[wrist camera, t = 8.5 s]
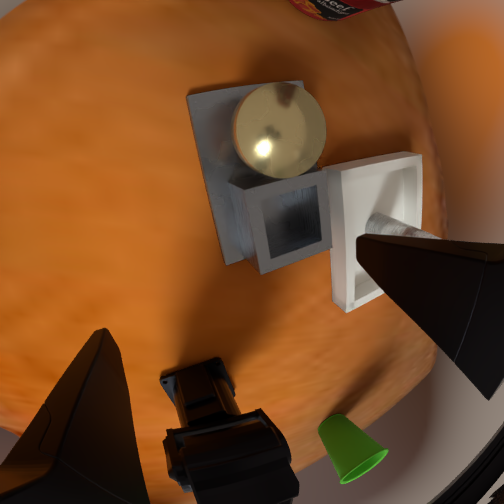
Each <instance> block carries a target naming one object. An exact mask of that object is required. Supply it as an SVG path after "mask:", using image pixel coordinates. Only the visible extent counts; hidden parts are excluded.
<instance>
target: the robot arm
mask: <svg viewBox="0 0 504 504" xmlns="http://www.w3.org/2000/svg"><path fill="white" fill-rule="evenodd" d="M356 259H357V262H358V263H359V264H360V266H361V267H362V268H363V269H364V270H365V271H366V272H367V274H368V275H369V276H370V277H371V278H372V279H373V280H374V282H375V283H376V284H377V285H378V286H379V287H380V288H381V289H382V290H383V291H384V292H385V293H386V294H387V295H388V296H389V297H390V298H391V299H392V300H393V301H394V302H395V303H396V304H397V305H398V306H399V307H400V308H401V309H402V310H403V311H404V312H405V313H406V314H407V315H408V316H409V317H410V318H411V319H412V320H413V321H414V322H415V323H416V324H417V325H418V326H419V327H420V328H421V329H422V330H423V331H424V332H425V333H426V334H427V335H428V336H429V337H430V338H431V339H432V340H433V341H434V342H435V343H436V344H437V345H438V346H439V347H440V348H441V349H442V350H443V351H444V352H445V354H447V356H448V357H449V358H450V359H451V360H452V361H453V362H454V363H455V364H456V366H457V367H458V368H459V369H460V370H461V371H462V372H463V373H464V374H465V375H466V377H467V378H468V379H469V380H470V381H471V382H472V383H473V384H474V386H475V387H476V388H477V389H478V390H479V391H480V392H481V394H482V395H483V396H484V397H485V398H486V399H487V400H488V401H489V400H490V399H491V398H492V397H493V395H494V394H495V392H496V391H497V390H498V389H499V387H500V386H501V385H502V383H503V382H504V244H497V243H478V242H465V241H454V240H451V241H449V240H442V239H431V238H420V237H408V236H395V235H382V234H369V233H365V234H362V235H360V236H358V237H357V238H356ZM217 362H218V363H217ZM159 380H160V384H161V386H162V387H163V389H164V390H165V392H166V393H167V395H168V396H169V398H170V399H171V401H172V402H173V404H174V405H175V407H176V410H177V413H178V417H179V421H180V424H181V428H177V429H172V428H171V429H166V432H167V436H166V439H164V440H163V446H164V450H165V454H166V461H167V469H168V474H169V477H170V478H171V479H173V480H175V481H177V482H178V484H179V486H181V487H182V489H183V491H184V493H187V492H193V493H194V496H195V498H196V501H197V504H292V501H293V498H294V497H297V496H298V494H299V481H298V480H297V478H296V476H295V474H294V472H293V470H292V468H291V466H290V463H291V453H290V449H289V446H288V444H287V441H286V439H285V437H284V436H283V434H282V433H281V431H280V430H279V429H278V428H277V427H276V426H275V424H274V423H273V422H272V421H271V420H270V419H269V417H268V416H267V415H266V414H265V413H264V411H263V410H262V409H261V408H260V409H256V410H255V411H252V412H249V413H245V414H241V412H240V410H239V408H238V406H237V403H236V401H235V399H234V397H235V392H234V389H233V387H232V384H231V382H230V379H229V377H228V374H227V372H226V369H225V366H224V364H223V361H222V359H221V358H214V359H211V360H209V361H206V362H203V363H200V364H197V365H195V366H192V367H189V368H186V369H183V370H180V371H177V372H174V373H171V374H168V375H165V376H162V377H161V378H160V379H159ZM503 472H504V422H503V424H502V425H501V426H500V428H499V429H498V430H497V432H496V433H495V434H494V436H493V437H492V438H491V439H490V441H489V442H488V443H487V444H486V445H485V447H484V448H483V449H482V450H481V451H480V452H479V454H478V455H477V456H476V457H475V458H474V459H473V460H472V461H471V463H470V464H469V465H468V466H467V467H466V468H465V469H464V470H463V471H462V472H461V473H460V474H459V475H458V476H457V477H456V478H455V479H454V480H453V481H452V482H451V483H450V484H449V485H448V486H447V487H445V489H443V490H442V491H441V492H440V493H439V494H438V495H437V496H436V497H434V498H433V499H432V500H431V501H430V502H429V503H427V504H477V502H478V501H479V500H480V499H481V498H482V497H483V496H484V495H485V494H486V492H487V491H488V490H489V489H490V488H491V486H493V484H494V483H495V482H496V481H497V479H498V478H499V477H500V476H501V474H502V473H503ZM489 498H490V499H491V501H490V502H489V503H488V504H504V484H503V485H502V486H501V487H500V488H499V489H497V490H496V491H495V492H494V493H493V494H492V495H491V496H490V497H489ZM0 504H150V501H149V497H148V493H147V489H146V485H145V481H144V477H143V473H142V468H141V463H140V459H139V454H138V448H137V443H136V437H135V431H134V425H133V418H132V411H131V404H130V396H129V390H128V386H127V381H126V377H125V372H124V368H123V363H122V358H121V353H120V350H119V347H118V346H117V344H116V342H115V340H114V339H113V337H112V335H111V334H110V332H109V330H108V329H107V328H102V329H99V330H96V331H94V333H93V334H92V335H91V337H90V338H89V339H88V341H87V342H86V343H85V345H84V346H83V347H82V349H81V350H80V351H79V353H78V354H77V356H76V357H75V358H74V360H73V361H72V362H71V364H70V365H69V367H68V368H67V369H66V371H65V372H64V374H63V375H62V377H61V378H60V379H59V381H58V382H57V384H56V385H55V387H54V388H53V390H52V391H51V393H50V394H49V396H48V397H47V399H46V400H45V404H43V405H42V406H41V408H40V409H39V411H38V413H37V414H36V415H35V417H34V419H33V420H32V422H31V423H30V424H29V426H28V427H27V429H26V430H25V432H24V433H23V434H22V436H21V437H20V439H19V440H18V441H17V443H16V444H15V446H14V447H13V448H12V450H11V451H10V453H9V454H8V455H7V457H6V459H5V460H4V461H3V463H2V464H1V465H0Z"/></svg>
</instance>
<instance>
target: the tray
mask: <svg viewBox="0 0 504 504" xmlns="http://www.w3.org/2000/svg"><path fill="white" fill-rule="evenodd" d="M323 169H325V170H326V176H327V185H328V195H329V206H330V218H331V231H332V247H333V248H331V249H330V258H331V277H332V301H333V302H334V303H335V304H336V305H337V306H339V307H340V308H341V309H342V310H343V311H344V312H346V313H348V312H350V311H352V310H353V309H355V308H357V307H359V306H361V305H363V304H365V303H367V302H369V301H370V300H372V299H374V298H376V297H378V296H380V295H381V294H383V293H385V292H384V291H383V290H382V289H381V288H380V287H379V286H378V285H377V284H376V283H375V282H374V280H373V279H372V278H371V277H370V276H369V275H368V274H367V272H366V271H365V270H364V269H363V268H362V267H361V266H360V264H359V263H358V262H357V259H356V238H357V237H358V236H360V235H362V234H365V226H366V223H367V221H368V219H369V217H370V216H371V215H372V214H374V213H377V212H379V213H382V214H385V215H387V216H390V217H392V218H395V219H397V220H399V221H402V222H404V223H407V224H409V225H411V226H414V227H416V228H418V229H421V217H422V154H416V153H411V152H405V151H403V152H397V153H391V154H386V155H380V156H375V157H370V158H364V159H359V160H354V161H349V162H344V163H340V164H335V165H330V166H326V167H323Z"/></svg>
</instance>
